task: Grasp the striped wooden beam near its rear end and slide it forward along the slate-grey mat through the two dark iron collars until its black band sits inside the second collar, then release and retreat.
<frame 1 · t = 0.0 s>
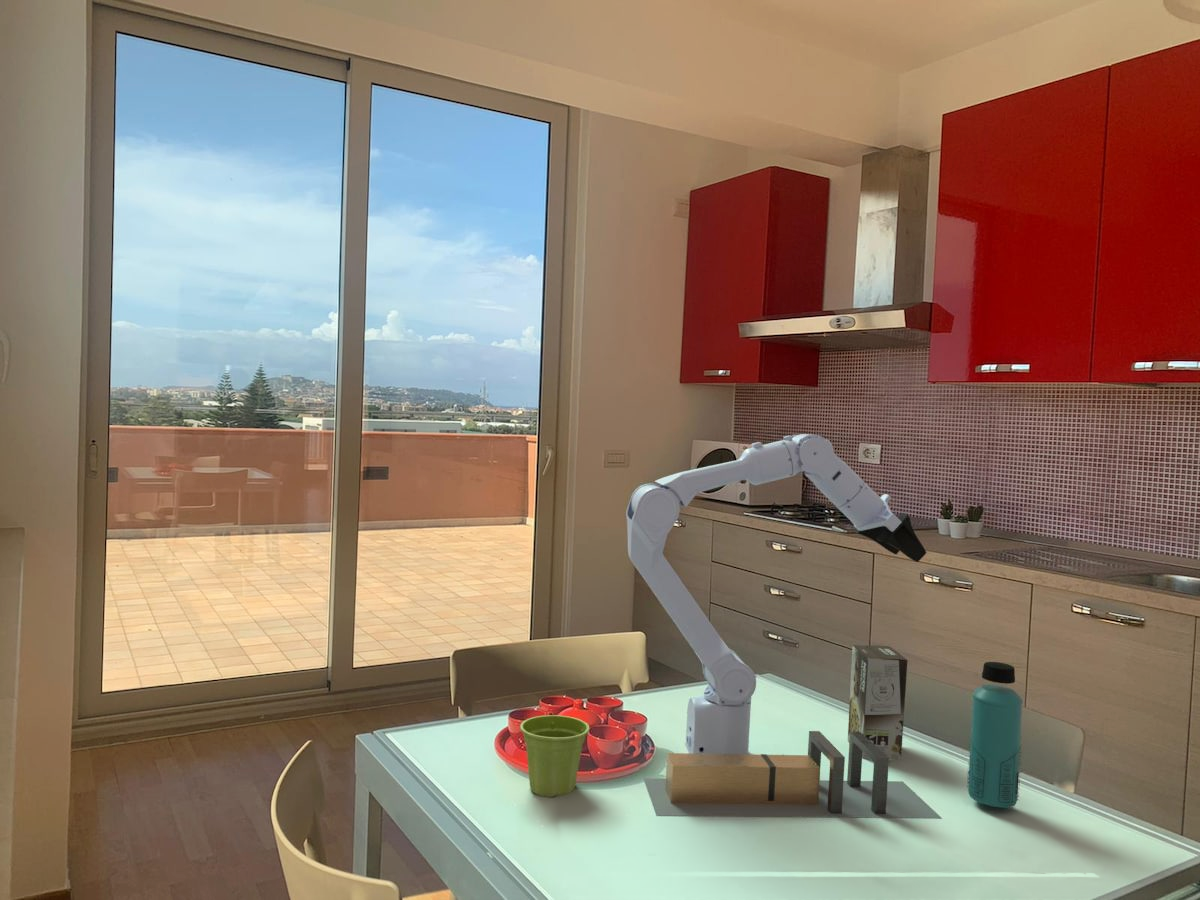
hand: (910, 553, 139), 32 cm above the table, tool tilted 50°, fingers open, 7 cm apart
collar b: (865, 798, 122), resting on mat
striped wooden beam: (740, 796, 121), resting on mat
beverage bottle: (990, 810, 122), on the table
coffee box: (873, 752, 142), on the table
mat: (787, 800, 121), on the table
plant pot: (551, 790, 121), on the table
collar a: (823, 797, 122), resting on mat
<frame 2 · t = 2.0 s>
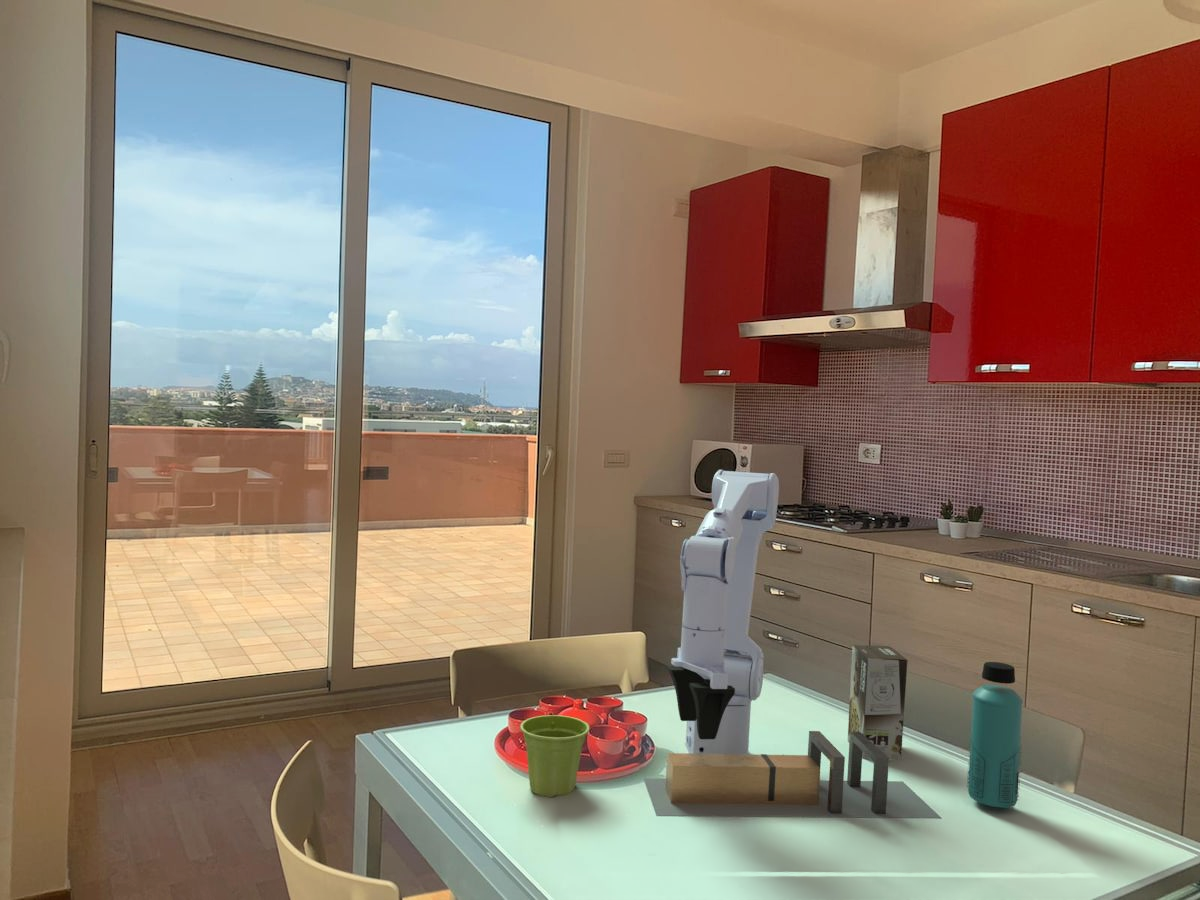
hand: (697, 729, 118), 10 cm above the table, tool pointing down, fingers open, 7 cm apart
nothing on the table moved.
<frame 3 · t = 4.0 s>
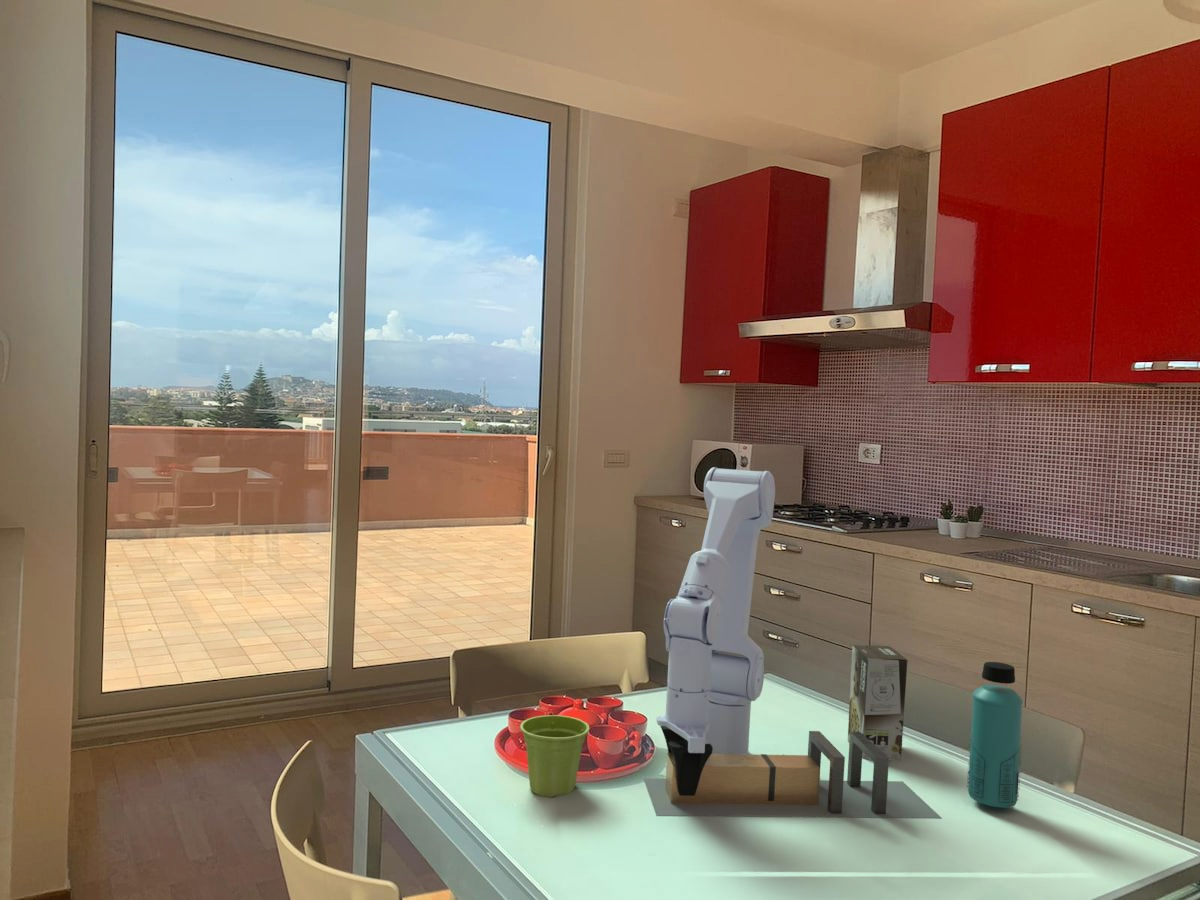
hand: (683, 786, 120), 2 cm above the table, tool pointing down, fingers closed on striped wooden beam, 4 cm apart
striped wooden beam: (740, 796, 121), resting on mat, touching gripper
everything else where it was.
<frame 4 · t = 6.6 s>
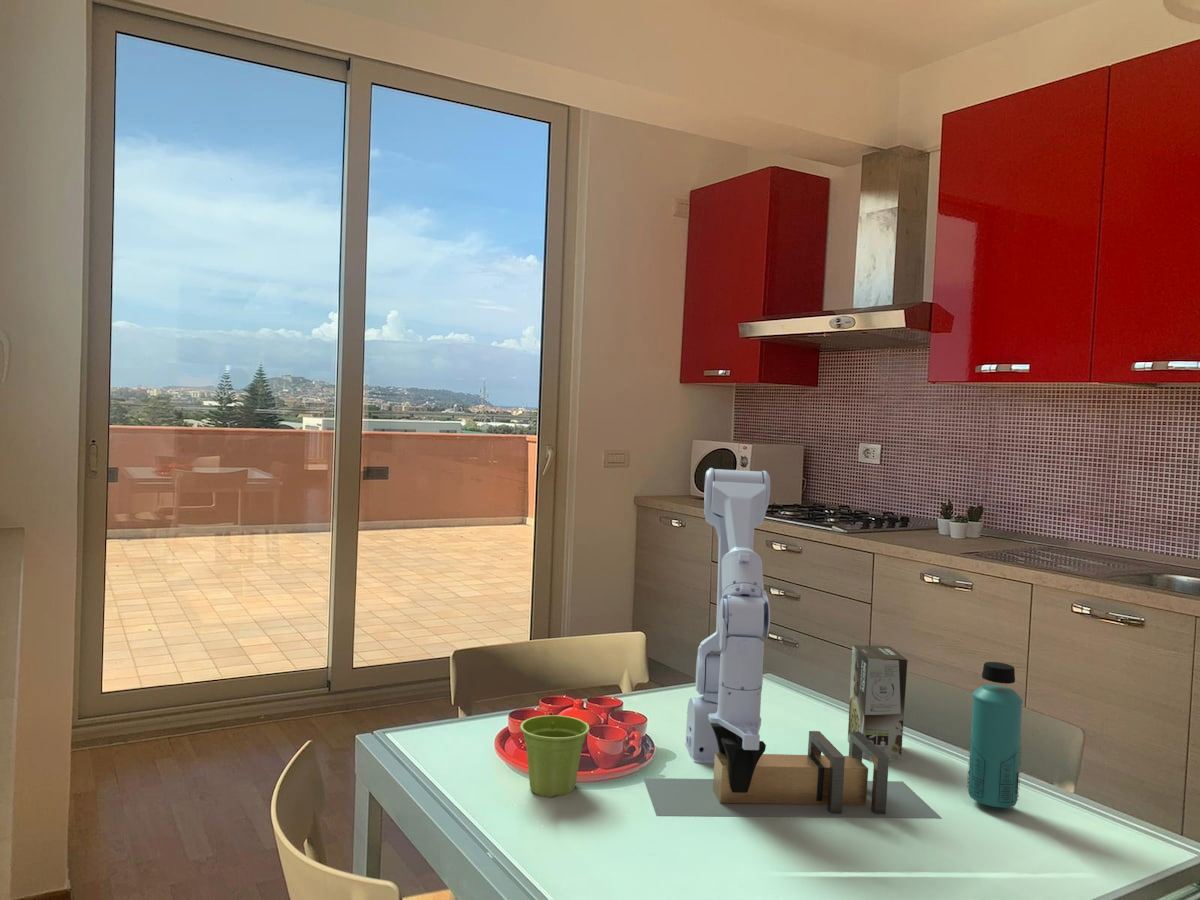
hand: (734, 783, 121), 2 cm above the table, tool pointing down, fingers closed on striped wooden beam, 4 cm apart
striped wooden beam: (788, 796, 121), resting on mat, touching gripper
everything else where it was.
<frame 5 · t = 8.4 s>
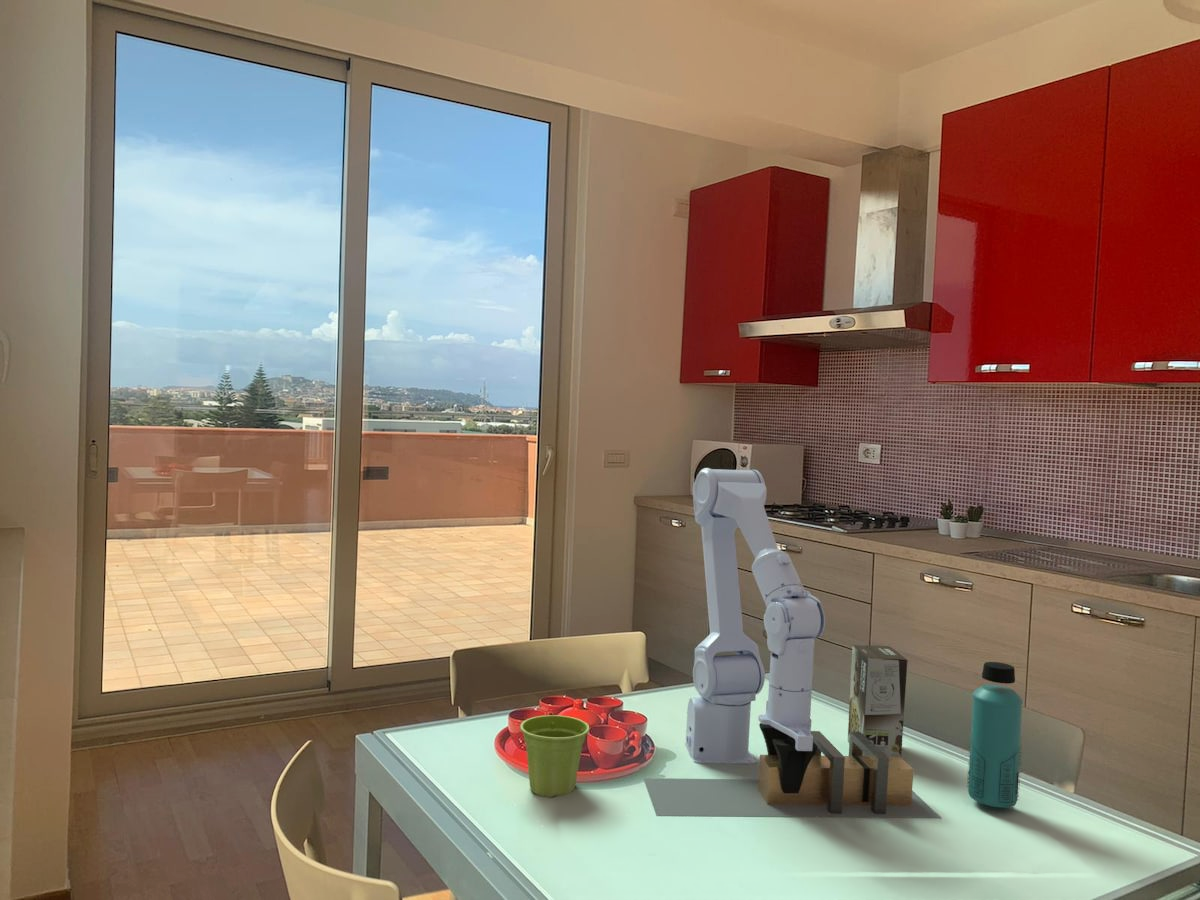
hand: (784, 784, 121), 2 cm above the table, tool pointing down, fingers closed on striped wooden beam, 4 cm apart
striped wooden beam: (833, 797, 122), resting on mat, touching gripper
everything else where it was.
when the fingers open (2 cm above the table, at t = 9.5 s): striped wooden beam stays where it is, resting on mat.
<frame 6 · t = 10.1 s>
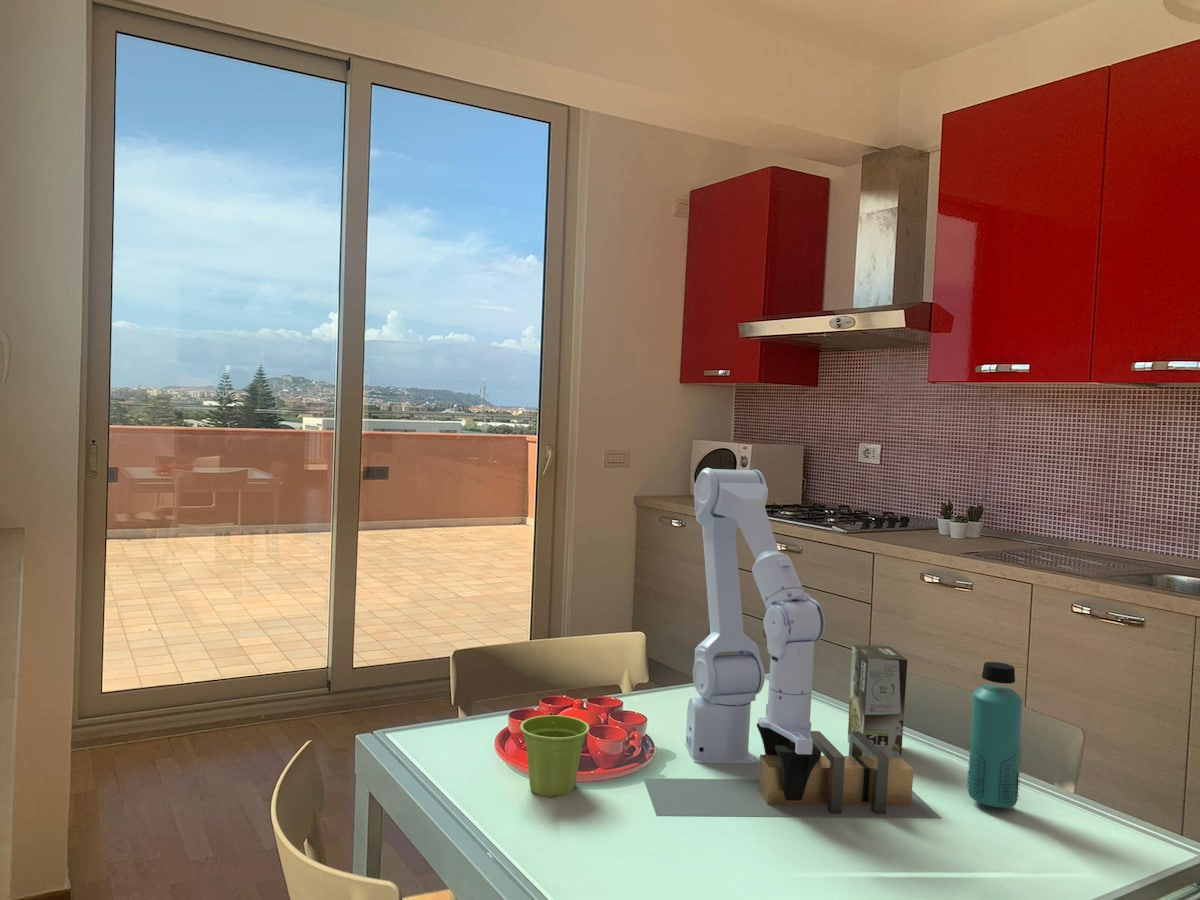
hand: (784, 787, 121), 2 cm above the table, tool pointing down, fingers open, 7 cm apart
striped wooden beam: (833, 797, 122), resting on mat
everything else where it was.
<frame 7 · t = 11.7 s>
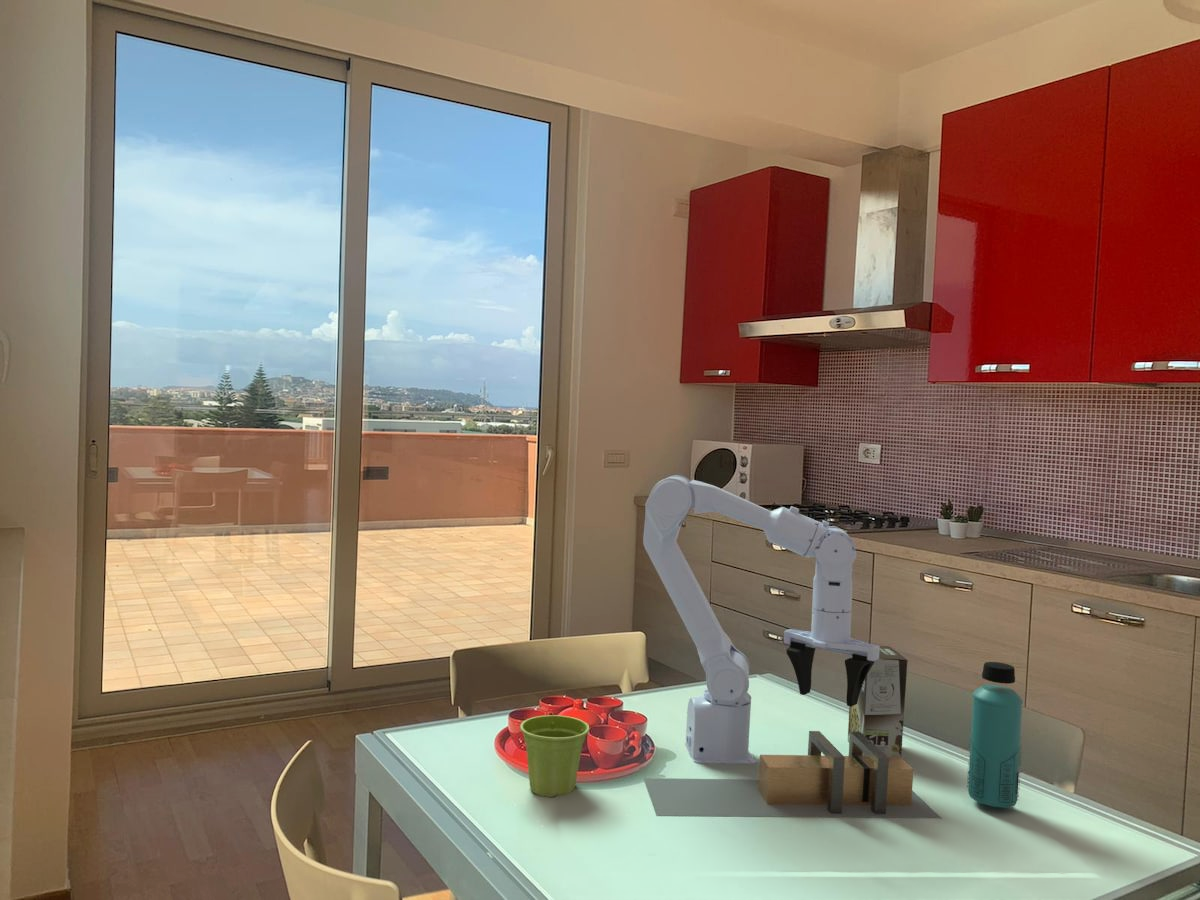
hand: (828, 699, 134), 10 cm above the table, tool pointing down, fingers open, 7 cm apart
nothing on the table moved.
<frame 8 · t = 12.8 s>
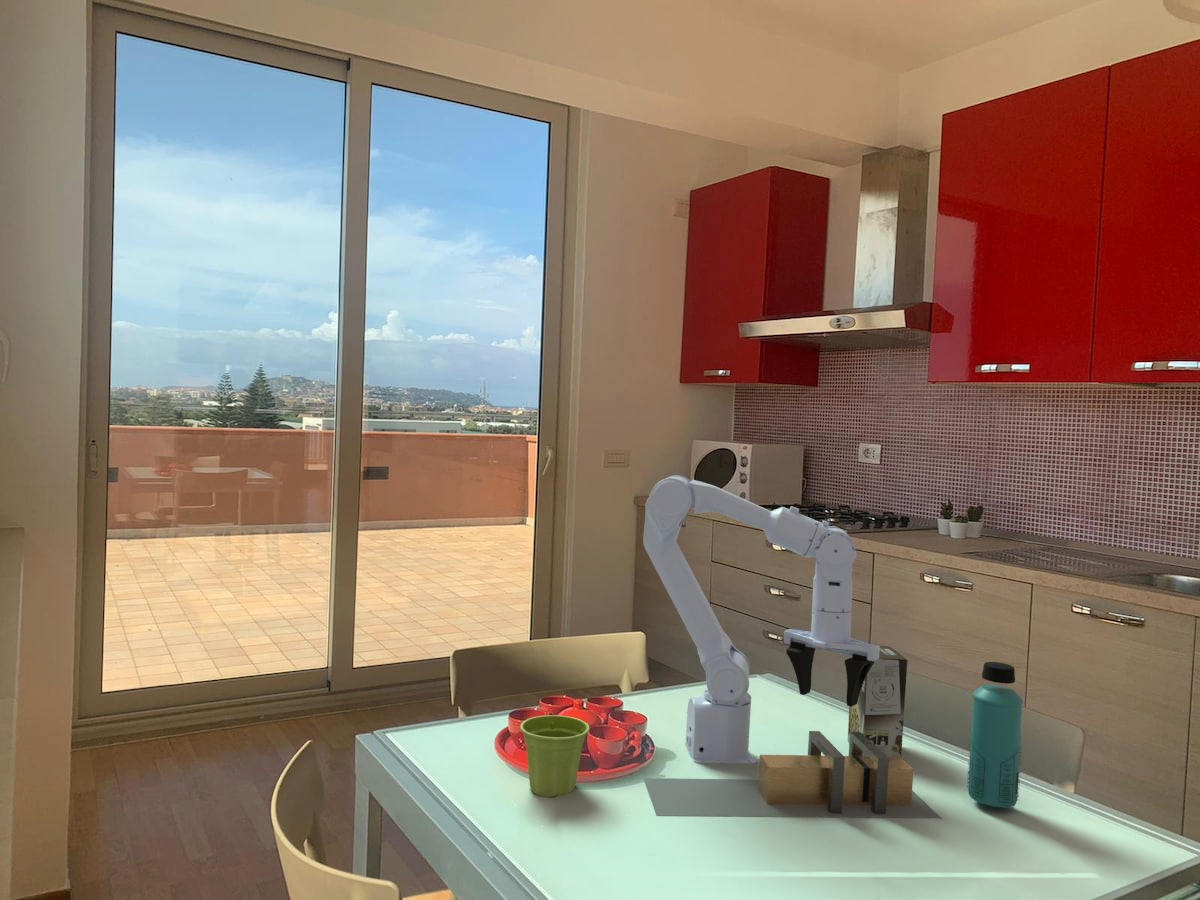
hand: (828, 699, 134), 10 cm above the table, tool pointing down, fingers open, 7 cm apart
nothing on the table moved.
at the end: striped wooden beam 1.0 cm from the target spot, resting on mat; striped wooden beam moved 13.0 cm from its start; the gripper is holding nothing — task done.
